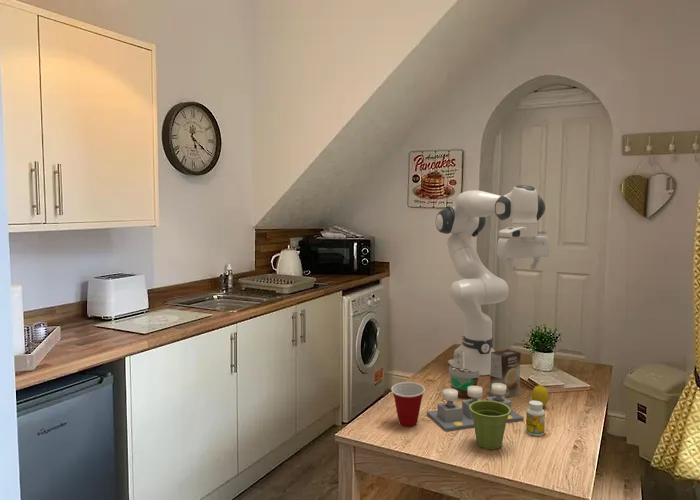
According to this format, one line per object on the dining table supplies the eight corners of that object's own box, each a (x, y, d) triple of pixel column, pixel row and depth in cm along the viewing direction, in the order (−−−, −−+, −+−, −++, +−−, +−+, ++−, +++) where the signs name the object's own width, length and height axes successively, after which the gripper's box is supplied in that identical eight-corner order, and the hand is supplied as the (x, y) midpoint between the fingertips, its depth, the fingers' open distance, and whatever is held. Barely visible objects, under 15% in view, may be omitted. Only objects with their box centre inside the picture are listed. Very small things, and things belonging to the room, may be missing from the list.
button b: (464, 405, 184) (464, 386, 183) (477, 403, 186) (477, 385, 185) (471, 410, 180) (472, 391, 179) (484, 408, 181) (485, 389, 180)
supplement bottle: (547, 433, 171) (548, 403, 170) (537, 438, 167) (538, 407, 166) (532, 427, 175) (533, 398, 174) (522, 432, 172) (523, 402, 171)
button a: (488, 402, 187) (488, 383, 186) (500, 400, 188) (501, 382, 188) (496, 407, 182) (496, 388, 182) (508, 405, 184) (509, 386, 183)
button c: (440, 408, 182) (440, 389, 181) (453, 406, 183) (453, 387, 182) (446, 413, 177) (447, 394, 176) (460, 412, 178) (460, 392, 178)
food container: (441, 393, 205) (441, 367, 204) (450, 389, 209) (451, 363, 208) (470, 402, 196) (470, 375, 195) (479, 398, 200) (480, 371, 199)
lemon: (549, 411, 188) (550, 388, 187) (532, 409, 189) (533, 387, 189) (546, 404, 194) (547, 382, 193) (530, 403, 195) (531, 381, 194)
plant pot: (460, 440, 166) (461, 404, 165) (492, 433, 171) (493, 398, 170) (485, 457, 155) (486, 418, 154) (518, 449, 160) (519, 411, 159)
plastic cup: (386, 427, 175) (386, 390, 174) (397, 414, 185) (397, 380, 184) (418, 433, 171) (419, 395, 170) (428, 420, 181) (429, 384, 180)
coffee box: (502, 400, 198) (503, 356, 197) (489, 394, 204) (490, 352, 202) (519, 395, 203) (521, 352, 201) (506, 390, 208) (507, 348, 207)
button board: (426, 414, 185) (426, 400, 185) (499, 404, 194) (500, 391, 193) (445, 431, 172) (446, 416, 172) (523, 420, 180) (523, 405, 180)
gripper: (541, 230, 202) (540, 267, 203) (494, 231, 195) (493, 270, 196) (554, 231, 196) (552, 269, 197) (505, 232, 189) (504, 272, 190)
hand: (523, 270), depth 197 cm, fingers open, 8 cm apart
